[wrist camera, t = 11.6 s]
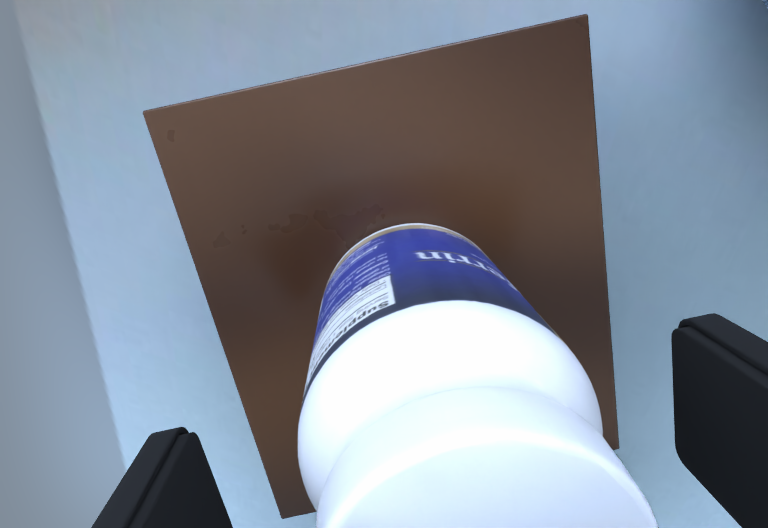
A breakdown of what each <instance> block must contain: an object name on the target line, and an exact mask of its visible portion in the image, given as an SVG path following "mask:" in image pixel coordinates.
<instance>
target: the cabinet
mask: <svg viewBox="0 0 768 528" xmlns="http://www.w3.org/2000/svg"><path fill="white" fill-rule="evenodd" d="M143 115H144V118H145V121H146V124H147V127H148V130H149V132H150V135H151V138H152V141H153V144H154V147H155V150H156V153H157V156H158V159H159V162H160V165H161V168H162V170H163V173H164V176H165V179H166V182H167V185H168V188H169V191H170V194H171V197H172V200H173V203H174V206H175V208H176V211H177V214H178V217H179V220H180V223H181V226H182V229H183V232H184V235H185V238H186V241H187V243H188V246H189V249H190V252H191V255H192V258H193V261H194V264H195V267H196V270H197V273H198V276H199V279H200V281H201V284H202V287H203V290H204V293H205V296H206V299H207V302H208V305H209V308H210V311H211V314H212V316H213V319H214V322H215V325H216V328H217V331H218V334H219V337H220V340H221V343H222V346H223V349H224V352H225V354H226V357H227V360H228V363H229V366H230V369H231V372H232V375H233V378H234V381H235V384H236V387H237V390H238V392H239V395H240V398H241V401H242V404H243V407H244V410H245V413H246V416H247V419H248V422H249V425H250V427H251V430H252V433H253V436H254V439H255V442H256V445H257V448H258V451H259V454H260V457H261V460H262V463H263V465H264V468H265V471H266V474H267V477H268V480H269V483H270V486H271V489H272V492H273V495H274V498H275V500H276V503H277V506H278V509H279V512H280V515H281V518H282V519H284V518H289V517H293V516H298V515H303V514H308V513H313V512H317V511H316V510H315V508H314V507H313V505H312V503H311V501H310V499H309V497H308V494H307V492H306V489H305V486H304V483H303V480H302V476H301V471H300V467H299V460H298V424H299V418H300V411H301V406H302V401H303V396H304V390H305V385H306V380H307V375H308V370H309V365H310V359H311V354H312V349H313V344H314V338H315V333H316V328H317V323H318V317H319V313H320V308H321V302H322V298H323V295H324V291H325V288H326V286H327V283H328V280H329V278H330V276H331V274H332V272H333V270H334V269H335V267H336V265H337V264H338V262H339V261H340V260H341V258H342V257H343V256H344V255H345V254H346V253H347V252H348V251H349V250H350V249H351V248H352V247H353V246H355V245H356V244H357V243H358V242H360V241H361V240H363V239H364V238H366V237H368V236H370V235H371V234H373V233H375V232H378V231H380V230H383V229H385V228H389V227H392V226H396V225H401V224H409V223H423V224H431V225H436V226H440V227H443V228H447V229H449V230H452V231H454V232H456V233H459V234H460V235H462V236H464V237H466V238H467V239H469V240H470V241H471V242H473V243H474V244H475V245H476V246H478V247H479V248H480V249H481V250H482V251H483V252H484V253H485V254H486V255H487V256H488V258H489V259H490V260H491V261H492V262H493V263H494V264H495V265H496V267H497V268H498V269H499V270H500V271H501V272H502V273H503V274H504V276H505V277H506V278H507V279H508V280H509V281H510V282H511V283H512V285H513V286H514V287H515V288H516V289H517V290H518V291H519V292H520V293H521V295H522V296H523V297H524V298H525V299H526V300H527V302H528V303H529V304H530V305H531V306H532V307H533V308H534V309H535V311H536V312H537V313H538V314H539V315H540V316H541V317H542V318H543V319H544V320H545V321H546V323H547V324H548V325H549V326H550V327H551V328H552V329H553V330H554V331H555V332H556V334H557V335H558V336H559V337H560V338H561V339H562V340H563V341H564V342H565V344H566V345H567V346H568V347H569V349H570V350H571V351H572V353H573V354H574V355H575V357H576V358H577V359H578V361H579V362H580V364H581V365H582V367H583V369H584V370H585V372H586V374H587V376H588V378H589V380H590V382H591V384H592V386H593V389H594V391H595V394H596V397H597V401H598V404H599V408H600V413H601V419H602V428H603V438H604V439H605V440H606V442H607V443H608V445H609V446H610V447H611V449H612V450H616V449H619V438H618V424H617V410H616V397H615V383H614V369H613V355H612V342H611V328H610V314H609V300H608V286H607V273H606V259H605V245H604V231H603V217H602V204H601V190H600V176H599V162H598V148H597V135H596V121H595V107H594V93H593V80H592V66H591V52H590V38H589V24H588V15H587V14H584V15H579V16H575V17H570V18H565V19H561V20H556V21H552V22H547V23H543V24H538V25H534V26H529V27H524V28H520V29H515V30H511V31H506V32H502V33H497V34H492V35H488V36H483V37H479V38H474V39H470V40H465V41H461V42H456V43H451V44H447V45H442V46H438V47H433V48H429V49H424V50H419V51H415V52H410V53H406V54H401V55H397V56H392V57H388V58H383V59H378V60H374V61H369V62H365V63H360V64H356V65H351V66H346V67H342V68H337V69H333V70H328V71H324V72H319V73H315V74H310V75H305V76H301V77H296V78H292V79H287V80H283V81H278V82H273V83H269V84H264V85H260V86H255V87H251V88H246V89H242V90H237V91H232V92H228V93H223V94H219V95H214V96H210V97H205V98H201V99H196V100H191V101H187V102H182V103H178V104H173V105H169V106H164V107H159V108H155V109H150V110H146V111H143Z"/></svg>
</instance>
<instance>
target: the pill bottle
mask: <svg viewBox="0 0 768 528" xmlns="http://www.w3.org/2000/svg"><path fill="white" fill-rule="evenodd" d="M298 460H299V467H300V471H301V476H302V480H303V483H304V486H305V489H306V492H307V494H308V497H309V499H310V501H311V503H312V505H313V507H314V508H315V510H316V511H317V520H316V528H659V527H658V524H657V521H656V519H655V516H654V514H653V511H652V509H651V507H650V505H649V503H648V501H647V499H646V497H645V496H644V494H643V493H642V491H641V490H640V488H639V487H638V486H637V484H636V483H635V481H634V480H633V478H632V477H631V475H630V474H629V472H628V471H627V469H626V468H625V466H624V465H623V464H622V462H621V461H620V459H619V458H618V456H617V455H616V454H615V452H614V451H613V450H612V449H611V447H610V446H609V445H608V443H607V442H606V440H605V439H604V438H603V428H602V419H601V413H600V408H599V404H598V401H597V397H596V394H595V391H594V389H593V386H592V384H591V382H590V380H589V378H588V376H587V374H586V372H585V370H584V369H583V367H582V365H581V364H580V362H579V361H578V359H577V358H576V357H575V355H574V354H573V353H572V351H571V350H570V349H569V347H568V346H567V345H566V344H565V342H564V341H563V340H562V339H561V338H560V337H559V336H558V335H557V334H556V332H555V331H554V330H553V329H552V328H551V327H550V326H549V325H548V324H547V323H546V321H545V320H544V319H543V318H542V317H541V316H540V315H539V314H538V313H537V312H536V311H535V309H534V308H533V307H532V306H531V305H530V304H529V303H528V302H527V300H526V299H525V298H524V297H523V296H522V295H521V293H520V292H519V291H518V290H517V289H516V288H515V287H514V286H513V285H512V283H511V282H510V281H509V280H508V279H507V278H506V277H505V276H504V274H503V273H502V272H501V271H500V270H499V269H498V268H497V267H496V265H495V264H494V263H493V262H492V261H491V260H490V259H489V258H488V256H487V255H486V254H485V253H484V252H483V251H482V250H481V249H480V248H479V247H478V246H476V245H475V244H474V243H473V242H471V241H470V240H469V239H467V238H466V237H464V236H462V235H460V234H459V233H456V232H454V231H452V230H449V229H447V228H443V227H440V226H436V225H431V224H423V223H409V224H401V225H396V226H392V227H389V228H385V229H383V230H380V231H378V232H375V233H373V234H371V235H370V236H368V237H366V238H364V239H363V240H361V241H360V242H358V243H357V244H356V245H355V246H353V247H352V248H351V249H350V250H349V251H348V252H347V253H346V254H345V255H344V256H343V257H342V258H341V260H340V261H339V262H338V264H337V265H336V267H335V269H334V270H333V272H332V274H331V276H330V278H329V280H328V283H327V286H326V288H325V291H324V295H323V298H322V302H321V308H320V313H319V317H318V323H317V328H316V333H315V338H314V344H313V349H312V354H311V359H310V365H309V370H308V375H307V380H306V385H305V390H304V396H303V401H302V406H301V411H300V418H299V424H298Z"/></svg>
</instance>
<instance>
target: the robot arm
mask: <svg viewBox="0 0 768 528" xmlns="http://www.w3.org/2000/svg"><path fill="white" fill-rule="evenodd" d="M672 366H673V395H674V425H675V446H676V451H677V454H678V456H679V458H680V460H681V461H682V463H683V464H684V466H685V467H686V468H687V469H688V470H689V471H690V472H691V473H692V474H693V475H694V476H695V477H696V479H697V480H698V481H699V482H700V483H701V484H702V485H703V486H704V487H705V488H706V489H707V490H708V491H709V493H710V494H711V495H712V496H713V497H714V498H715V499H716V500H717V501H718V502H719V503H720V504H721V505H722V507H723V508H724V509H725V510H726V511H727V512H728V513H729V514H730V515H731V516H732V517H733V518H734V519H735V521H736V522H737V523H738V524H739V525H740V526H741V527H742V528H768V342H767V341H765V340H763V339H761V338H759V337H758V336H756V335H754V334H752V333H751V332H749V331H747V330H745V329H743V328H742V327H740V326H738V325H736V324H734V323H733V322H731V321H729V320H727V319H726V318H724V317H722V316H720V315H718V314H715V313H713V314H707V315H702V316H698V317H693V318H688V319H684V320H682V321H681V322H680V324H679V326H678V329H675V330H674V331H673V333H672ZM92 528H233V527H232V524H231V521H230V519H229V516H228V513H227V511H226V508H225V506H224V503H223V500H222V498H221V495H220V492H219V490H218V487H217V484H216V482H215V479H214V477H213V474H212V471H211V469H210V466H209V463H208V461H207V458H206V456H205V453H204V450H203V448H202V445H201V442H200V440H199V438H198V436H197V434H196V433H194V432H192V433H189V432H188V431H187V430H186V429H185V428H184V427H179V428H174V429H170V430H165V431H160V432H156V433H152V434H151V435H150V436H149V437H148V439H147V440H146V442H145V444H144V445H143V447H142V448H141V450H140V451H139V453H138V455H137V456H136V458H135V459H134V461H133V463H132V464H131V466H130V467H129V469H128V470H127V472H126V474H125V475H124V477H123V478H122V480H121V482H120V483H119V485H118V486H117V488H116V490H115V491H114V493H113V494H112V496H111V497H110V499H109V501H108V502H107V504H106V505H105V507H104V509H103V510H102V512H101V513H100V515H99V516H98V518H97V520H96V521H95V523H94V524H93V526H92Z"/></svg>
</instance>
